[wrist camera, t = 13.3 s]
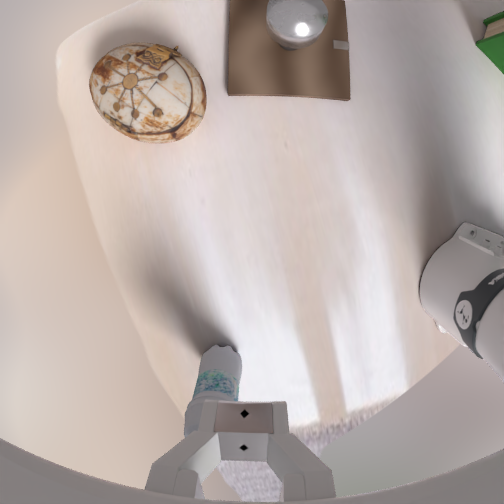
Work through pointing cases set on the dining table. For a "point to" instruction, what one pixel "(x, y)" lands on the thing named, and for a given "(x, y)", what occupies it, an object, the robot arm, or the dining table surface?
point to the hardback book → (494, 40)
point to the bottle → (214, 382)
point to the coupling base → (287, 56)
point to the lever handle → (296, 21)
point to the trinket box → (148, 92)
